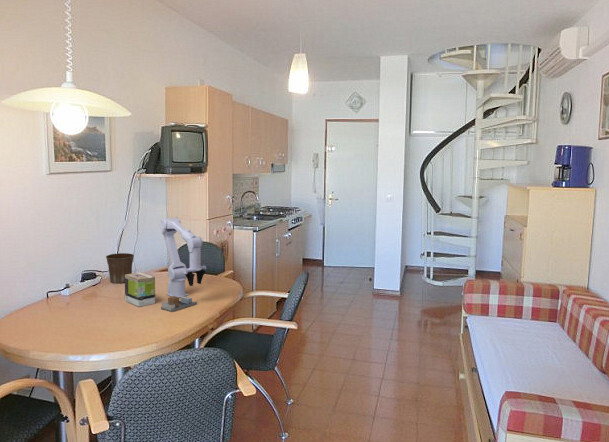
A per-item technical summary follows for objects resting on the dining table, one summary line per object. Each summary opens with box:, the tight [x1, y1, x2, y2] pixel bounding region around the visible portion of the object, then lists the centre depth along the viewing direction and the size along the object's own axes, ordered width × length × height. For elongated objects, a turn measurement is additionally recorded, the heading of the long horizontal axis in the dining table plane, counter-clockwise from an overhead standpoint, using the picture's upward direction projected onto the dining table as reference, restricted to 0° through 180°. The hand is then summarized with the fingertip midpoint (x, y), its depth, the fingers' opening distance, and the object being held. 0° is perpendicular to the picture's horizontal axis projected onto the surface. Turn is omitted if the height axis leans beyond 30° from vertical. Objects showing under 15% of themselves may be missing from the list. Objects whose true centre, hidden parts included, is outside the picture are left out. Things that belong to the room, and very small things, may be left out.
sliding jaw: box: [180, 296, 193, 304], centre depth 250 cm, size 6×2×3 cm, turn 56°
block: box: [167, 296, 180, 308], centre depth 243 cm, size 4×4×5 cm
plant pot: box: [105, 252, 135, 285], centre depth 293 cm, size 16×16×16 cm
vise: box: [160, 300, 198, 313], centre depth 246 cm, size 8×17×3 cm, turn 146°
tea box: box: [124, 271, 156, 307], centre depth 252 cm, size 15×10×15 cm
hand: (195, 284), depth 255 cm, fingers open, 5 cm apart
